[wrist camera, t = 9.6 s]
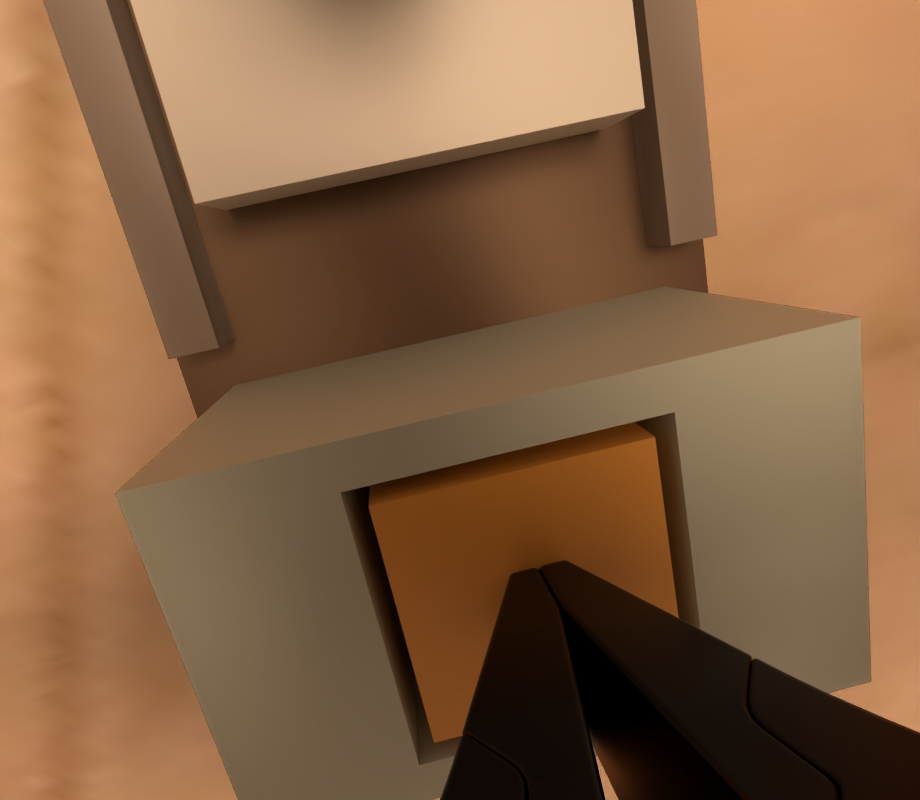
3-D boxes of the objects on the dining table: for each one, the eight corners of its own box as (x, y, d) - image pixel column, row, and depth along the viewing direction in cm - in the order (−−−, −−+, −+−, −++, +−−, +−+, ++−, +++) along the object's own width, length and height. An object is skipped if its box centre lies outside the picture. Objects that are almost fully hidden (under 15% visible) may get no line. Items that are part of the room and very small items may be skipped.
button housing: (665, 286, 14) (860, 317, 8) (692, 517, 15) (871, 681, 10) (235, 385, 13) (115, 492, 8) (309, 613, 15) (256, 846, 9)
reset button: (558, 365, 13) (655, 437, 8) (585, 528, 14) (686, 676, 9) (377, 407, 13) (368, 506, 8) (419, 570, 14) (434, 742, 9)
